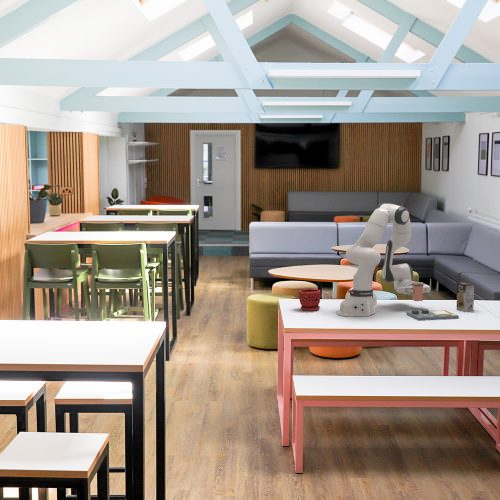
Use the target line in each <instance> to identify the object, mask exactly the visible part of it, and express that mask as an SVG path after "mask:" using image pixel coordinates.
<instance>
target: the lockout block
mask: <svg viewBox="0 0 500 500" xmlns="http://www.w3.org/2000/svg"><path fill="white" fill-rule="evenodd" d="M422 283H423V282H422ZM422 283H412V285H413V290H415V291H414V292H415V293H412V295H411V296H412V298H411V301H414V302H423V300H424V299H423V297H424V296H423V295H424V293H423V286H424V284H425V283H423V284H422Z"/></svg>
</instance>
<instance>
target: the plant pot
mask: <svg viewBox="0 0 500 500" xmlns="http://www.w3.org/2000/svg"><path fill="white" fill-rule="evenodd" d="M321 297H322V296H321V290H320V289H317V288H312V289H311V288H307V289H300V290H298V298H299V303H300V309H301V310H302V311H305V312H316V311H319V309H320V308H321V306H320V302H321Z"/></svg>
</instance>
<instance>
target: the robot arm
mask: <svg viewBox="0 0 500 500" xmlns="http://www.w3.org/2000/svg"><path fill="white" fill-rule="evenodd" d="M388 223H389V224H392V233H391V234H392V235H391V237H390V239H389V240H388V241H387V242H386V247H385V253H384V259H383V260H384V261H383V266H382V270H381V278H382V280H384V282H386V283H393V286H394V288H393V290H395V292H396V293H397V294H405V295H406V296H412V293H415V292H414V291H415V290H413V285H412V283H422V284H424V286H423V294H424V293H427V294H429V293H431V286H430V285H428V284H426V283H424V282H421V281H413V278H414V272H413V267H411V266H410V264H408V263H406V262H405V263H399V264H393V260H394V254H395V253H396V251H397V250H399V249H400V248H402V247H405V246H406V245H407V244H408V243H409V242H410V241H411V239H412V223H411V219H410V212H409V209H408V208H407V207H405V206H402V205H397V204H395V203H386V202H382V203H379V204H378V205H377V207H376V208H375V209H374V210H373V212H372V214H371V215H370V217H369V219H368V221H367V222H366V225H365V228H364V229H363V232H362V233H361V235H360V236H359V237H358V239H357V240H356V242H354V244H352V245H351V246H350V247H348V248H347V249H346V251H345V258H346V260H347V262H349V263H351V264H353V265H357V271H356V272H355V273H354V275H353V277H352V287H353V289H352V290H349V289H350V288H348V289H347V290H346V291H347V292H348V293H350V296H349V297H348V298H346V299H345V298H344V300H343V301H341V302H340V304H339V305H340V306H339V310H336V311H335V313H336V315H337V316H341V317H369V316H371V315H375V314H376V313H375V308H374V305H373V291H374V290H373V277H374V273H375V269H376V267H377V266H378V265H379V264H380V262H381V259H382V258H381V253H380V252H379V250H376V249H375V246H376V245H378V244H379V243H380V242H381V240H382V239H383V235H384V233H385V230H386V229H387V225H388Z"/></svg>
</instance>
